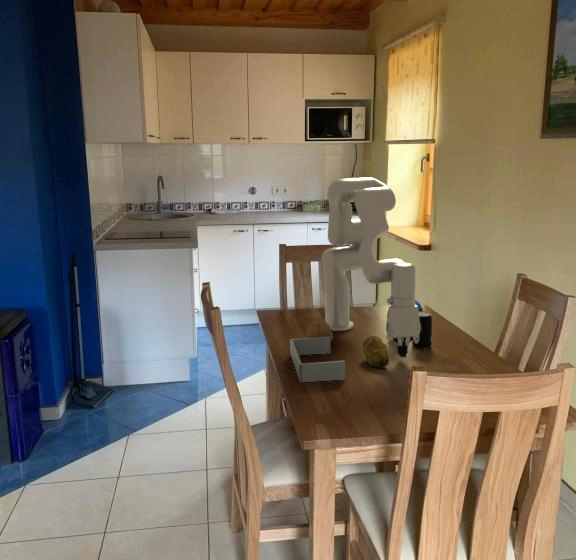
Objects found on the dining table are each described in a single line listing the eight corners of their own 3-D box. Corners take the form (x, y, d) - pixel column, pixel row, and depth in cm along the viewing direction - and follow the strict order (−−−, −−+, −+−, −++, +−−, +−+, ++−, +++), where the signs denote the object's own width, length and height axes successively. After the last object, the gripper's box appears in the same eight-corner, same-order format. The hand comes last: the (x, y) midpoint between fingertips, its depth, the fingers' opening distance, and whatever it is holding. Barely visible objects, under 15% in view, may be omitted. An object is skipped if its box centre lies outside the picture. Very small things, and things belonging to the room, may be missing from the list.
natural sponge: (302, 343, 202) (302, 317, 200) (325, 340, 205) (324, 314, 203) (312, 351, 194) (311, 324, 192) (335, 348, 197) (335, 320, 195)
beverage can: (431, 350, 192) (432, 316, 189) (412, 349, 193) (412, 316, 191) (431, 343, 198) (431, 311, 196) (412, 343, 200) (412, 310, 197)
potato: (362, 370, 176) (362, 346, 174) (362, 355, 189) (362, 333, 187) (389, 370, 175) (389, 346, 173) (387, 356, 188) (387, 333, 186)
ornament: (410, 324, 221) (411, 300, 219) (396, 319, 228) (396, 295, 226) (427, 320, 225) (427, 296, 223) (412, 316, 232) (413, 292, 230)
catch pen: (290, 355, 191) (289, 339, 189) (330, 353, 192) (329, 336, 191) (299, 383, 167) (299, 364, 166) (345, 380, 169) (345, 361, 168)
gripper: (383, 306, 174) (383, 361, 178) (429, 303, 176) (428, 358, 180) (376, 300, 181) (376, 353, 185) (421, 297, 183) (420, 350, 187)
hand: (402, 355), depth 182 cm, fingers closed
